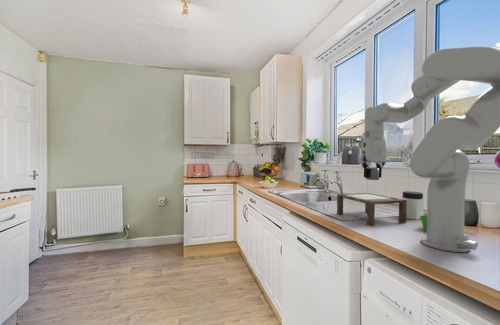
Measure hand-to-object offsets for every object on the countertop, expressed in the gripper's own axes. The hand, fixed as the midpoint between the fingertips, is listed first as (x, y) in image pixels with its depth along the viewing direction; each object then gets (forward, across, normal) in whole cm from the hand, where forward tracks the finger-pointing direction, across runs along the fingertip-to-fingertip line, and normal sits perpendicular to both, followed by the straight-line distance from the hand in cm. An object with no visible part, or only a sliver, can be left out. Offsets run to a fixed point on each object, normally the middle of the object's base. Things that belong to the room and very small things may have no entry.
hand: (372, 177), depth 108 cm
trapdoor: (+12, +4, +6) cm, 14 cm away
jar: (+20, +25, +1) cm, 32 cm away
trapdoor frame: (+20, +4, +6) cm, 21 cm away
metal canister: (+1, 0, 0) cm, 1 cm away
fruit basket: (+20, +17, -17) cm, 31 cm away
